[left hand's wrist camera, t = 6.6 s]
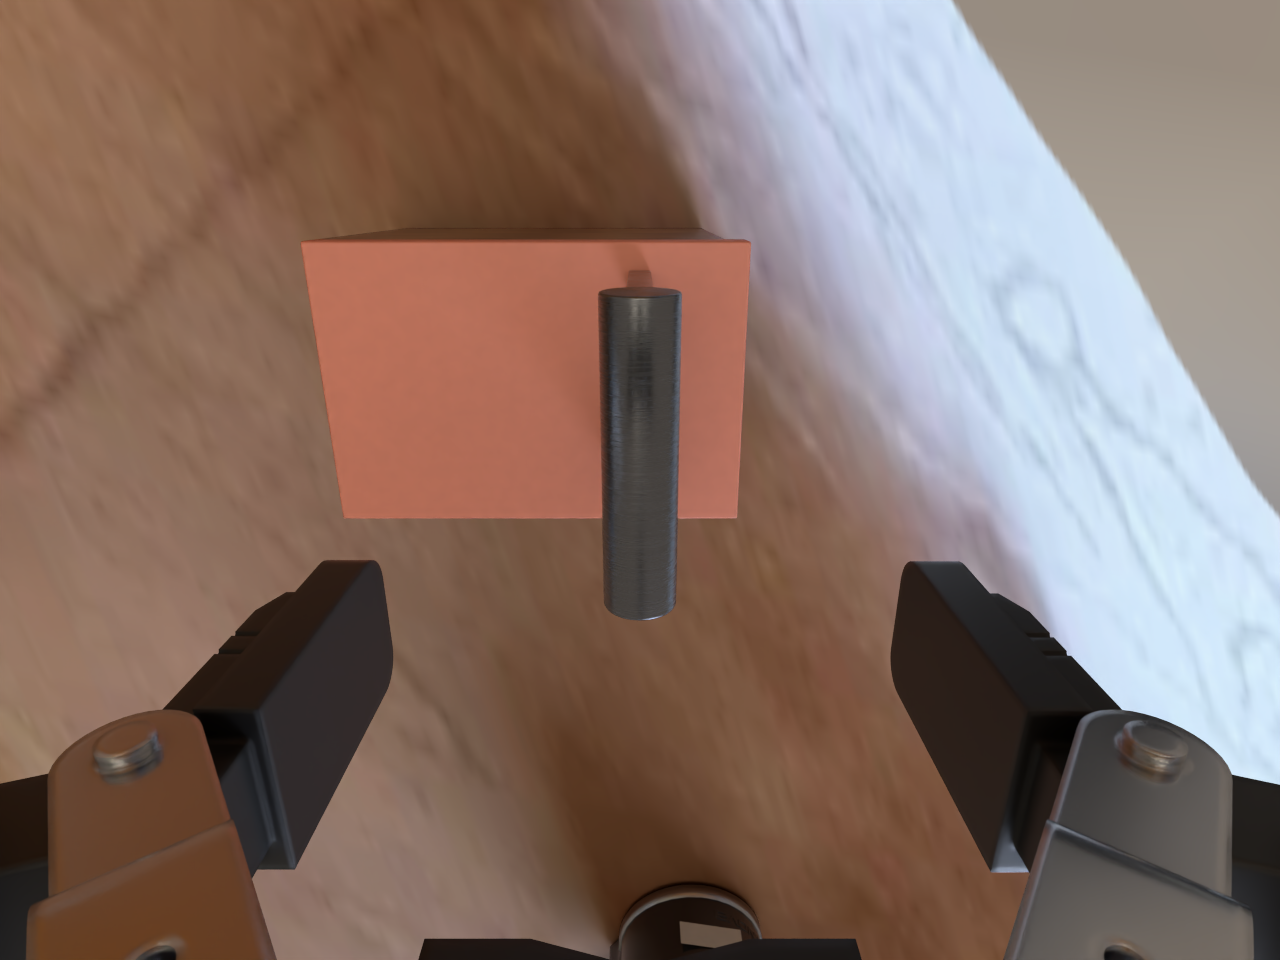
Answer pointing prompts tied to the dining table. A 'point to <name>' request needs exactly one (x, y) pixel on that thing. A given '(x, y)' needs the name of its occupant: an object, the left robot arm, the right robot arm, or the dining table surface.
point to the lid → (538, 386)
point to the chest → (537, 233)
